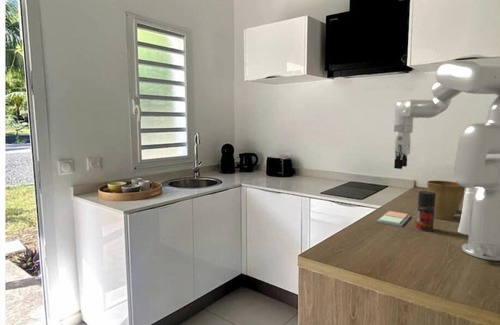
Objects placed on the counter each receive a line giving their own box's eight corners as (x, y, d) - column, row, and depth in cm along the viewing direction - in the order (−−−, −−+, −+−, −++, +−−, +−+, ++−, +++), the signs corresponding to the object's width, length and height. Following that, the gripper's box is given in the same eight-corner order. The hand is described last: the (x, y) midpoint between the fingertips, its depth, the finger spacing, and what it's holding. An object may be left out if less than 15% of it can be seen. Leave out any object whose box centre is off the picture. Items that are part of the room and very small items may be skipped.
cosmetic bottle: (478, 233, 127) (483, 177, 124) (473, 236, 123) (478, 179, 120) (460, 229, 131) (465, 175, 129) (455, 232, 127) (460, 177, 125)
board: (401, 226, 134) (401, 223, 134) (376, 222, 140) (376, 219, 139) (410, 217, 148) (410, 214, 148) (387, 213, 154) (387, 210, 154)
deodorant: (412, 227, 133) (415, 191, 131) (423, 226, 135) (426, 190, 133) (425, 232, 128) (428, 194, 126) (436, 230, 130) (439, 193, 128)
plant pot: (467, 223, 139) (470, 187, 137) (427, 220, 144) (430, 184, 142) (457, 214, 153) (460, 181, 151) (422, 211, 158) (424, 179, 156)
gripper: (408, 129, 136) (405, 170, 138) (415, 129, 149) (413, 166, 152) (389, 129, 140) (387, 168, 142) (398, 128, 154) (395, 164, 156)
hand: (400, 167), depth 147 cm, fingers open, 9 cm apart
